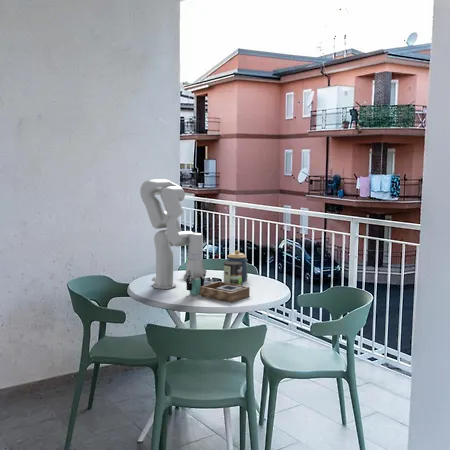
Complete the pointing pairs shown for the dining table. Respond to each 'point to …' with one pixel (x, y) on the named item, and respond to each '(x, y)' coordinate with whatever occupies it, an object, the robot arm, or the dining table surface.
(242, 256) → the canister
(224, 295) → the bin
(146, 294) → the dining table surface
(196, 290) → the teal salt shaker
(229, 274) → the coffee can
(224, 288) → the socket
